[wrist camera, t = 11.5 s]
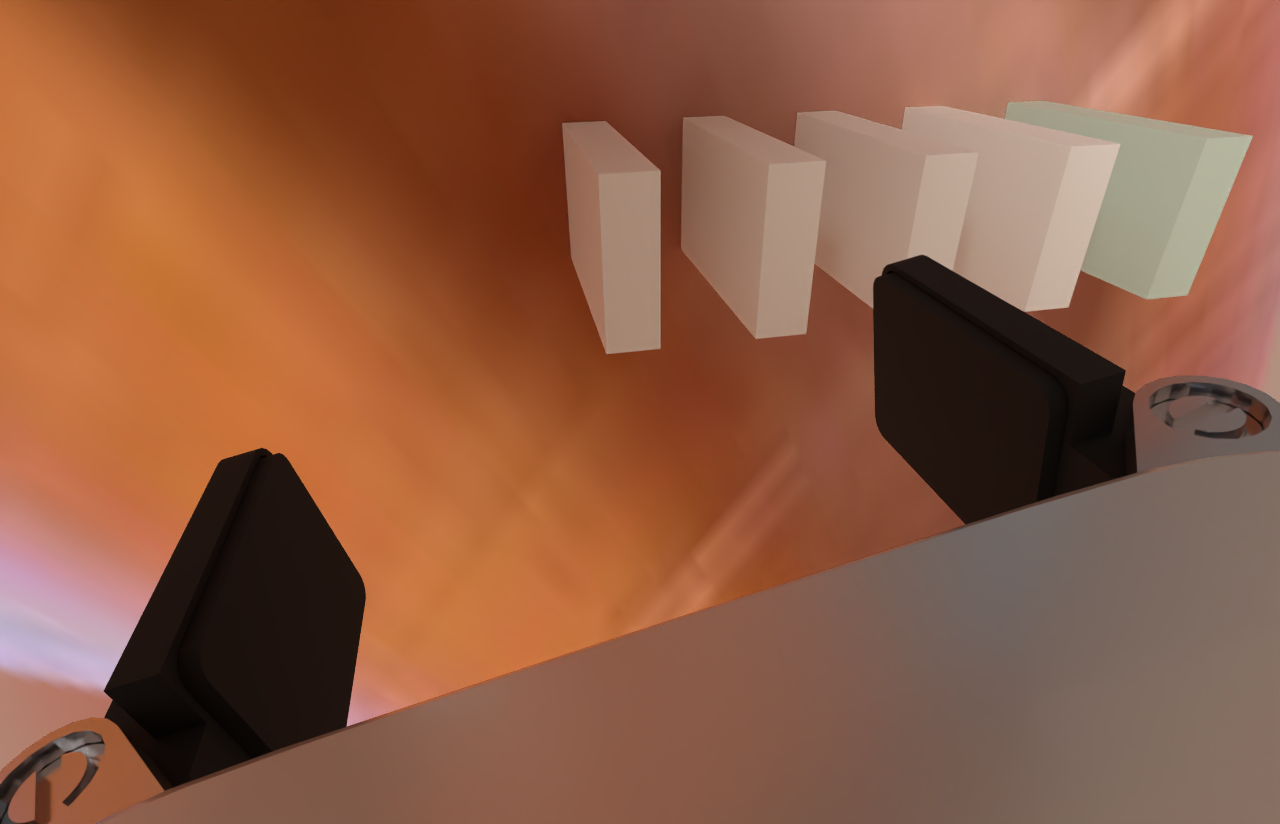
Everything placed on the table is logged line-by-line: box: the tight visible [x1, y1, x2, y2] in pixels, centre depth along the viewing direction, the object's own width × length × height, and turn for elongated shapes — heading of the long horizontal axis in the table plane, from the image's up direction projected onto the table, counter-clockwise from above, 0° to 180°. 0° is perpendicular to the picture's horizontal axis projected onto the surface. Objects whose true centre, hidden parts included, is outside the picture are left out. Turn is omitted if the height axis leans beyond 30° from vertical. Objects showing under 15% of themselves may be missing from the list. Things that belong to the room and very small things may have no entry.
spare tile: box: [1004, 101, 1253, 299], centre depth 25 cm, size 2×5×9 cm, turn 2°
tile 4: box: [902, 106, 1121, 312], centre depth 25 cm, size 2×5×9 cm, turn 1°
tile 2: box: [681, 116, 826, 339], centre depth 23 cm, size 2×5×9 cm, turn 1°
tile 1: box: [562, 121, 661, 354], centre depth 23 cm, size 2×5×9 cm, turn 1°
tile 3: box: [794, 111, 979, 308], centre depth 24 cm, size 2×5×9 cm, turn 1°
